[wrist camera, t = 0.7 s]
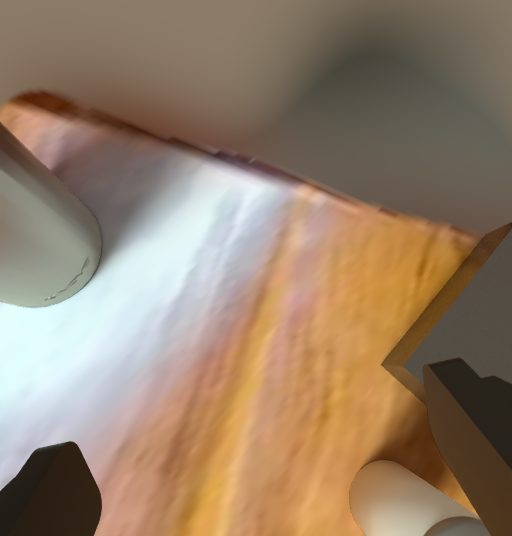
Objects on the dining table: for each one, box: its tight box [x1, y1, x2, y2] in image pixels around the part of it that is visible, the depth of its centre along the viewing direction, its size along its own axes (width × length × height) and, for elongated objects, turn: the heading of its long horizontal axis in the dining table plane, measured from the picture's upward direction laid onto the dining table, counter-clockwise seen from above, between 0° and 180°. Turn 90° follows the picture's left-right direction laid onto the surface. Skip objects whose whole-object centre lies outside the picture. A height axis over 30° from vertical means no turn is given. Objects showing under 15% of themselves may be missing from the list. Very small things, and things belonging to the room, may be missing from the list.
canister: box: [349, 460, 491, 536], centre depth 22 cm, size 5×5×11 cm
